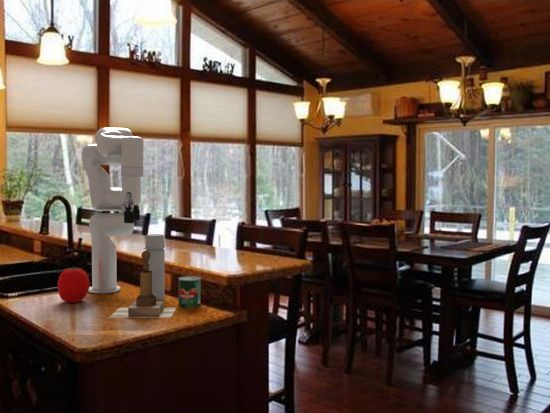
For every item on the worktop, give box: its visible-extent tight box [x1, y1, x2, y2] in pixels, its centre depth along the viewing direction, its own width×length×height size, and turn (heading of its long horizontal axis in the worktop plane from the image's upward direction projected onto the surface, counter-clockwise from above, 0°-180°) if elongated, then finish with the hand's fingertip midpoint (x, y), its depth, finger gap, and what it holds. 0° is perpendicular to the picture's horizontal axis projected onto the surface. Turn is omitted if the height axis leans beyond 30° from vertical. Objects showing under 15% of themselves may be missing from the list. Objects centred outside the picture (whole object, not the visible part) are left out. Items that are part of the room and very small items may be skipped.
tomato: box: [57, 266, 91, 304], centre depth 209 cm, size 12×12×13 cm
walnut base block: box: [128, 300, 165, 317], centre depth 190 cm, size 10×10×3 cm
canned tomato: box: [177, 275, 202, 309], centre depth 202 cm, size 8×8×11 cm
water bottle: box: [143, 233, 166, 301], centre depth 213 cm, size 9×8×25 cm
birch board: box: [108, 306, 177, 319], centre depth 191 cm, size 14×20×1 cm
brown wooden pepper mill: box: [135, 250, 157, 306], centre depth 189 cm, size 7×6×18 cm
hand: (132, 221), depth 196 cm, fingers open, 9 cm apart
